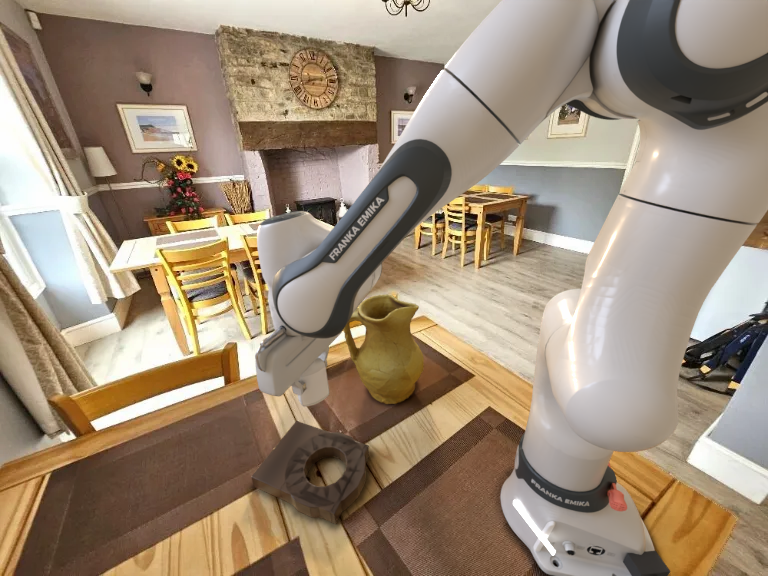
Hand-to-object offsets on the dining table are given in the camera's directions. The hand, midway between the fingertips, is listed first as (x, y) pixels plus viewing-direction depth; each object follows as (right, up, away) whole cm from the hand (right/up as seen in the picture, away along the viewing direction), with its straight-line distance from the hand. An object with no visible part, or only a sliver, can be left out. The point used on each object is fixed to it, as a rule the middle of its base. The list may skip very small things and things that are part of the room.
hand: (311, 379), depth 56 cm
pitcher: (+14, -10, +28) cm, 33 cm away
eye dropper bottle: (0, -4, +2) cm, 5 cm away
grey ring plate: (-1, -20, +6) cm, 21 cm away
